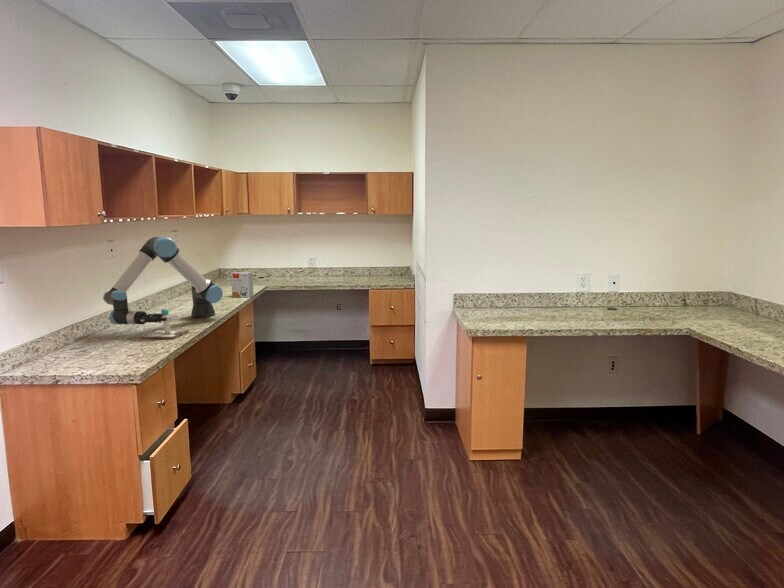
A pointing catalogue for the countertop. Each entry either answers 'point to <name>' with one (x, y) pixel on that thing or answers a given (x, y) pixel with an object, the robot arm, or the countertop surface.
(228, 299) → the countertop surface
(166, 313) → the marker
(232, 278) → the hard drive box
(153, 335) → the clipboard
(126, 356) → the countertop surface
